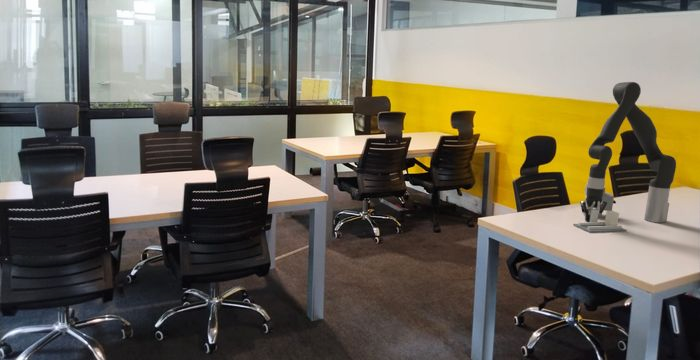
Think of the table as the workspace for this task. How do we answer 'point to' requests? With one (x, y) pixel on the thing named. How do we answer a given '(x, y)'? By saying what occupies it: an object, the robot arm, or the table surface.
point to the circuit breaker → (606, 197)
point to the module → (594, 215)
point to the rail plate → (603, 224)
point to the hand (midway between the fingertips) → (591, 221)
